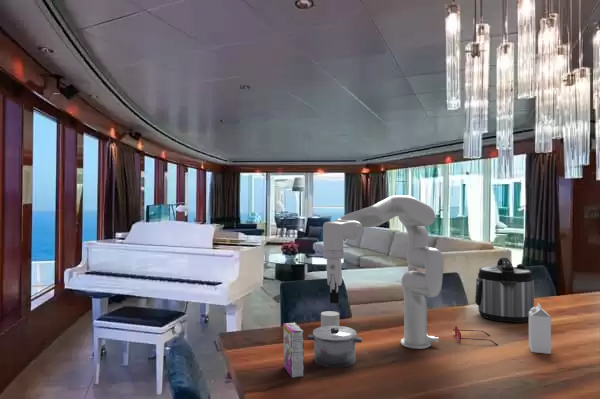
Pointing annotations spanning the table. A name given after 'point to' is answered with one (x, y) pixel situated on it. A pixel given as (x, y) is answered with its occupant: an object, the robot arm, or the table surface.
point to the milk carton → (539, 330)
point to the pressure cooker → (505, 292)
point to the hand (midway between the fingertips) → (334, 302)
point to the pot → (334, 352)
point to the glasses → (468, 338)
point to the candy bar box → (293, 350)
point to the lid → (334, 333)
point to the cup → (329, 318)
